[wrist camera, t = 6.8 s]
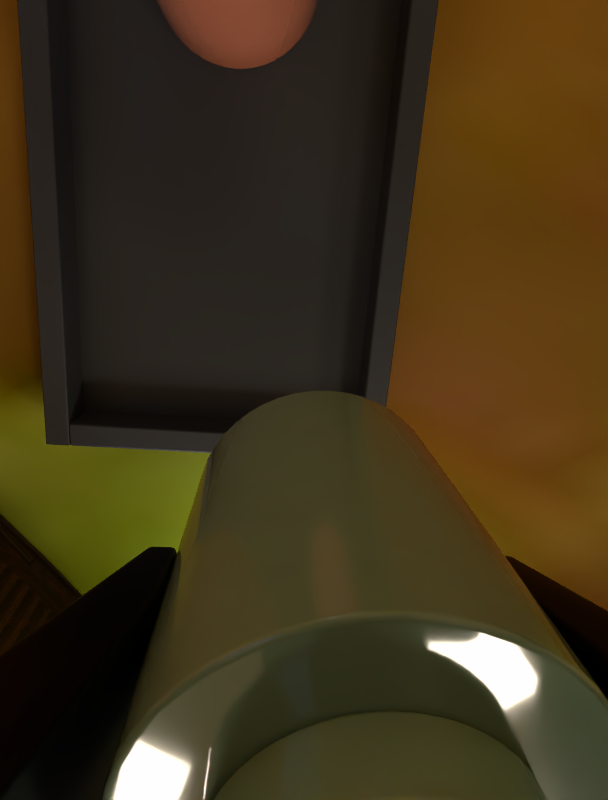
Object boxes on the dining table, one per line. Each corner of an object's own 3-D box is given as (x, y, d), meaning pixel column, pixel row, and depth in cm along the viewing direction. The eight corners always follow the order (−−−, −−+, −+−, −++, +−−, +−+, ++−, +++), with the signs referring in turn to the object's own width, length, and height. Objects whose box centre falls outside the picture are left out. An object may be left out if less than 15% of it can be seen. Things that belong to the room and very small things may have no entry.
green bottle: (453, 395, 11) (1248, 1098, 2) (421, 607, 12) (795, 1556, 3) (199, 383, 10) (-222, 1166, 2) (197, 603, 12) (-27, 1642, 3)
